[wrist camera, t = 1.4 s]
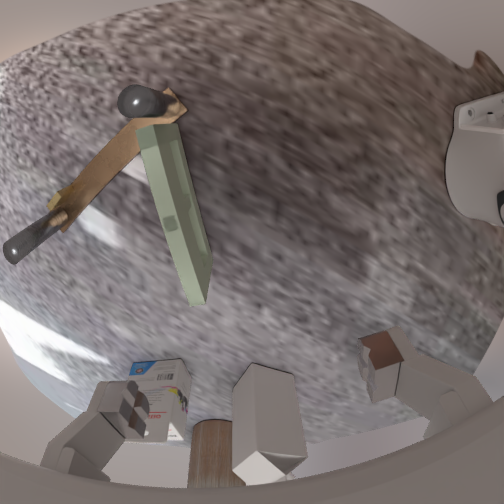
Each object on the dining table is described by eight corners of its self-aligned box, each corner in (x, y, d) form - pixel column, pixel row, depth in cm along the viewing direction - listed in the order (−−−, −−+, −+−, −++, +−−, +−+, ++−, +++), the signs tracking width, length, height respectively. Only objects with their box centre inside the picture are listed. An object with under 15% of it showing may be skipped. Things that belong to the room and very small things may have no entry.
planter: (192, 439, 51) (184, 536, 31) (194, 415, 47) (183, 528, 27) (240, 444, 52) (242, 540, 32) (248, 421, 48) (253, 532, 28)
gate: (164, 127, 26) (135, 130, 19) (177, 123, 26) (152, 124, 19) (201, 262, 33) (190, 306, 25) (213, 259, 33) (205, 303, 25)
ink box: (145, 382, 43) (126, 457, 30) (132, 361, 41) (106, 439, 28) (193, 379, 43) (182, 460, 29) (182, 357, 41) (166, 442, 27)
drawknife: (170, 88, 26) (133, 73, 16) (188, 110, 27) (160, 105, 17) (51, 212, 31) (-3, 248, 21) (65, 230, 32) (16, 271, 22)
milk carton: (232, 388, 44) (231, 496, 27) (251, 361, 41) (258, 480, 24) (271, 398, 46) (282, 500, 28) (293, 373, 43) (313, 483, 26)
